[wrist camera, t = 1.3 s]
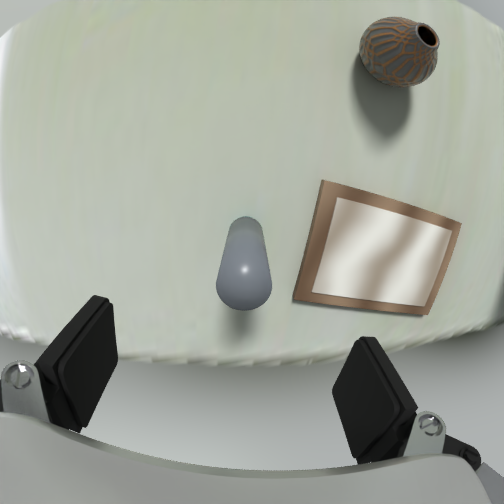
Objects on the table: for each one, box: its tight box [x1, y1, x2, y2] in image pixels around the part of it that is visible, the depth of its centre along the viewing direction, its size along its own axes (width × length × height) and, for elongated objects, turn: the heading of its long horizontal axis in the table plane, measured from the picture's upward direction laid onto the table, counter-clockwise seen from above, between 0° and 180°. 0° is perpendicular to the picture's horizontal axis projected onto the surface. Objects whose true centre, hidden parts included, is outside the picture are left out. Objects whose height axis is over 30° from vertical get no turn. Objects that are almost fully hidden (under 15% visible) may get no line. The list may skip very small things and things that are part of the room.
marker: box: [216, 217, 272, 310], centre depth 21 cm, size 3×3×12 cm
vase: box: [359, 17, 439, 87], centre depth 16 cm, size 7×7×9 cm
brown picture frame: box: [293, 180, 462, 315], centre depth 27 cm, size 18×12×1 cm, turn 79°
